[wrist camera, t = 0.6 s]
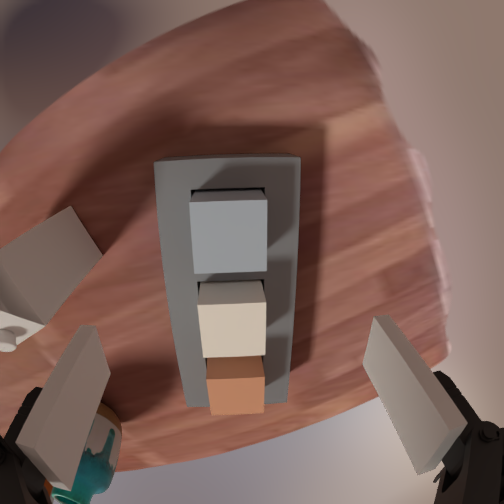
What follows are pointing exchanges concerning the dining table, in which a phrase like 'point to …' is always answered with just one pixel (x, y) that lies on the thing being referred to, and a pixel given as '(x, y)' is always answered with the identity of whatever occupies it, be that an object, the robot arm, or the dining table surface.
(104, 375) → the robot arm
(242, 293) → the key ivory
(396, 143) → the dining table surface
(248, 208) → the key slate
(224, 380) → the key rust
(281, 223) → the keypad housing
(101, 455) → the vase
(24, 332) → the milk carton
